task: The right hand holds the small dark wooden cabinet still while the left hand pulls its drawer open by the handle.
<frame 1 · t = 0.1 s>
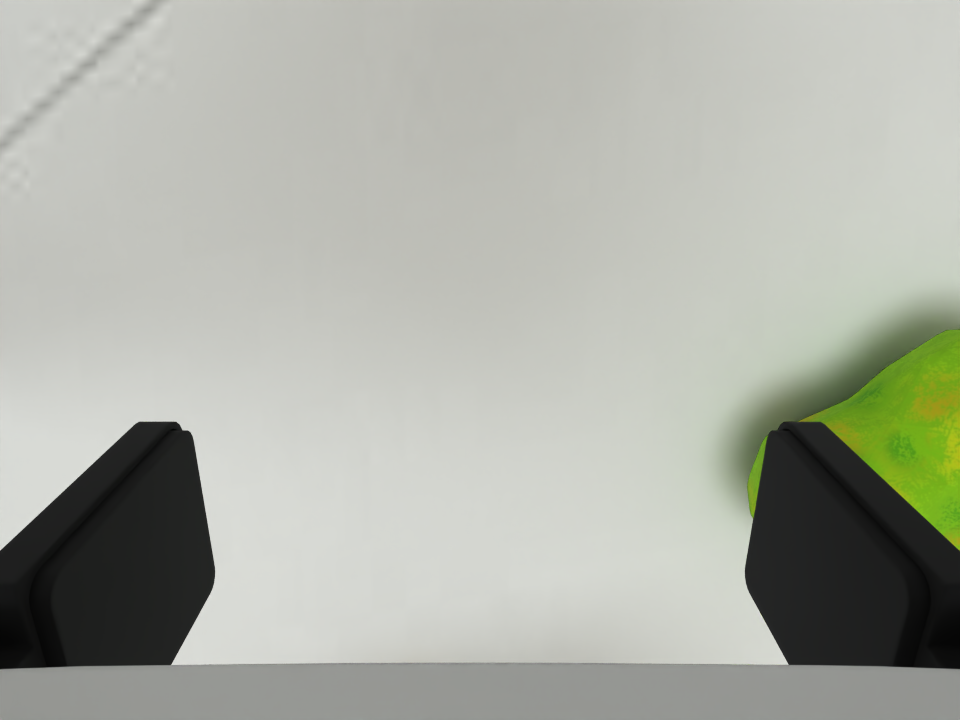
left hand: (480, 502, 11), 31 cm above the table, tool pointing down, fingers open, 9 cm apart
decorative tree: (946, 425, 45), on the table
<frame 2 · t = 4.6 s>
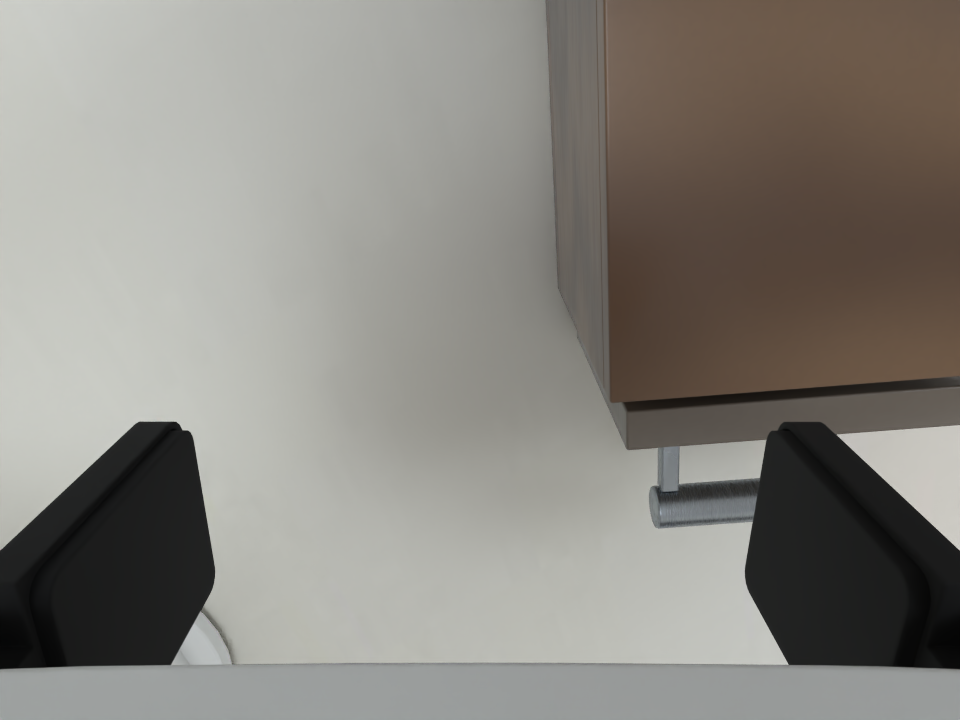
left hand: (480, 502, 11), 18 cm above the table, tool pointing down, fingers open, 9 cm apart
drawer: (750, 145, 21), point 6 cm above the table, slide at 0.7 cm
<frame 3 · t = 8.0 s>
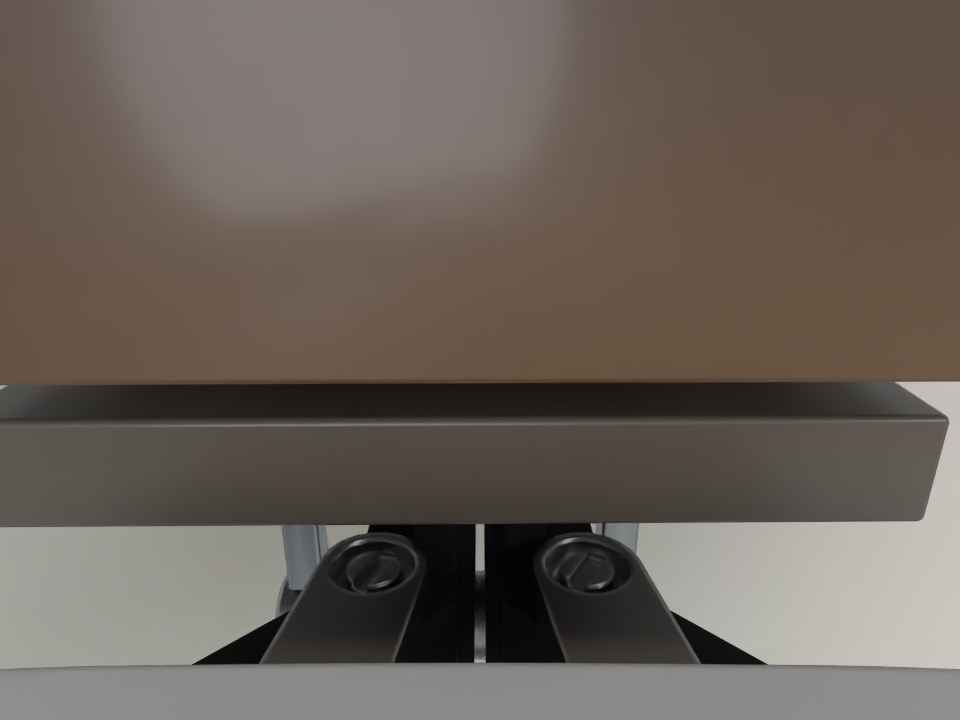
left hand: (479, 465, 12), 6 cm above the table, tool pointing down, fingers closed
when the right hand's fingers open (7 cm above the table, at t = 11.0 s): cabinet stays where it is, on the table.
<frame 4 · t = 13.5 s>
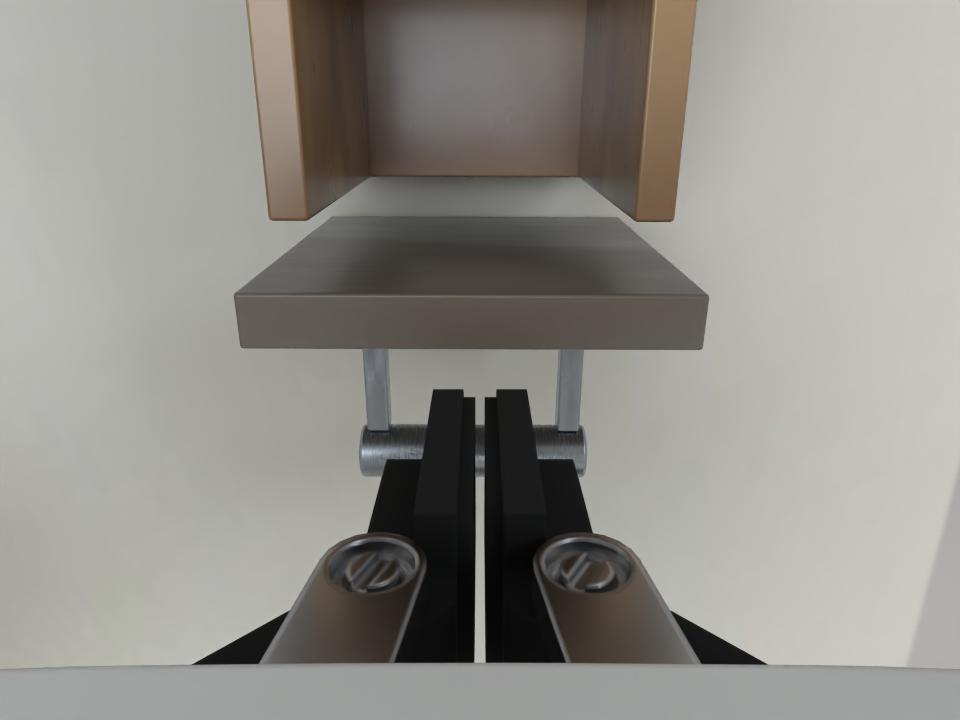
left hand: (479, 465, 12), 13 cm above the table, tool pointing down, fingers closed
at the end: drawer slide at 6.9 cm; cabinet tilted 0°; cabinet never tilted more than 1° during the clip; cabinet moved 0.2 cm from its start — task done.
